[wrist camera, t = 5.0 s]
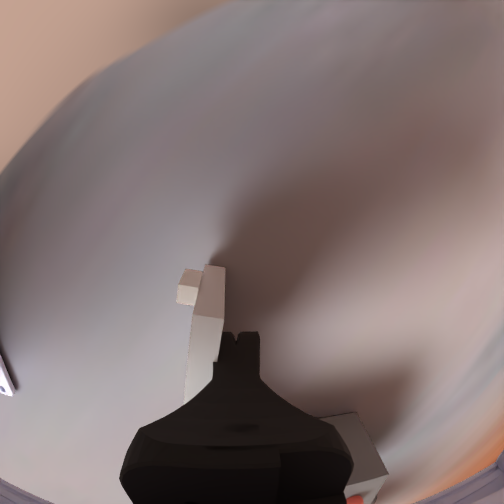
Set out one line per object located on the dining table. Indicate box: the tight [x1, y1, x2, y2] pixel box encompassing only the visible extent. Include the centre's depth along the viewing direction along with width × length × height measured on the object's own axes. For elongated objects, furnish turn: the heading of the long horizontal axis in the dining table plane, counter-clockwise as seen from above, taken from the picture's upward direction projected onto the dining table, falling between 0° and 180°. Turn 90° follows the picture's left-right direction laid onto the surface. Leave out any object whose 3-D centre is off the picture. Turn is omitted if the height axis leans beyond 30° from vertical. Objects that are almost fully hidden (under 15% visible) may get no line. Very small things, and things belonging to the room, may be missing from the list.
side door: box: [176, 264, 225, 405], centre depth 10 cm, size 9×2×5 cm, turn 169°
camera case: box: [318, 412, 389, 504], centre depth 12 cm, size 10×7×6 cm
